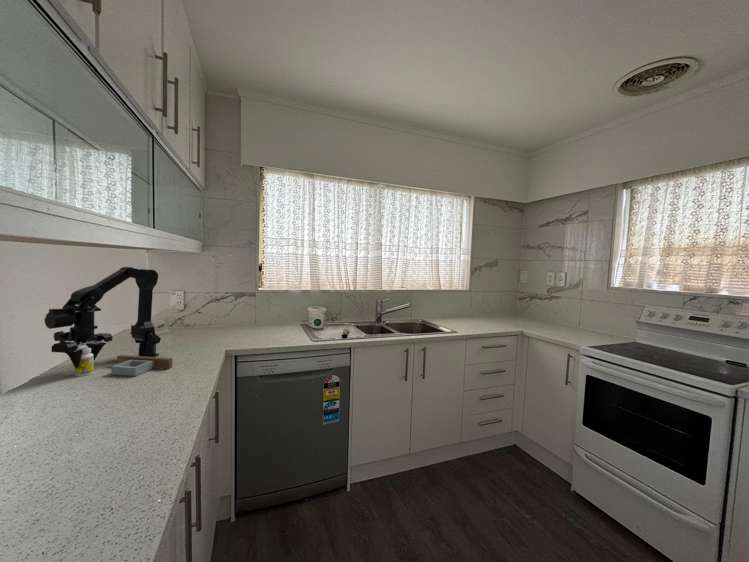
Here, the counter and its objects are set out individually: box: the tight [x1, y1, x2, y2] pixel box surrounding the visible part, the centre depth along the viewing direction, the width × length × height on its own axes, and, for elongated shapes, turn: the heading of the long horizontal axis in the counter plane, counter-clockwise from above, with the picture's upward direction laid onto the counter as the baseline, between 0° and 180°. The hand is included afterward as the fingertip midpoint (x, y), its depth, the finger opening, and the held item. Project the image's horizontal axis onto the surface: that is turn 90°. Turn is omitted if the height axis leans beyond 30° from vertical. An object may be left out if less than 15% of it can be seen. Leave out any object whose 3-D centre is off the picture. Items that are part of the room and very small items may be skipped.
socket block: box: [110, 359, 155, 377], centre depth 124 cm, size 10×10×3 cm
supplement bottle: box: [73, 347, 95, 377], centre depth 119 cm, size 5×5×10 cm
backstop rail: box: [116, 354, 173, 370], centre depth 129 cm, size 2×22×4 cm, turn 88°
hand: (84, 364), depth 119 cm, fingers open, 6 cm apart
